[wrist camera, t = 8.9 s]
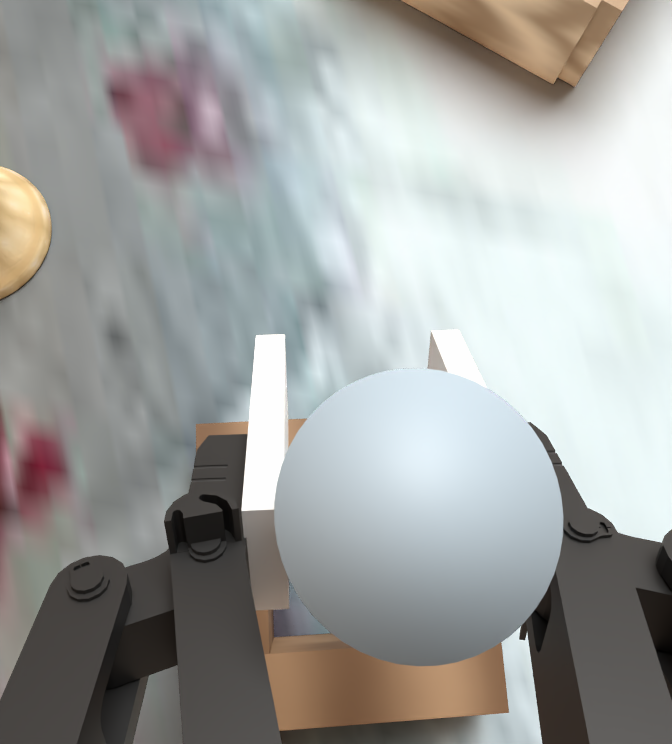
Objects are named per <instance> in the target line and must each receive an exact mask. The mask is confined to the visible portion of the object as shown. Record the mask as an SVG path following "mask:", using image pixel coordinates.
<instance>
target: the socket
mask: <svg viewBox="0 0 672 744" xmlns="http://www.w3.org/2000/svg"><path fill="white" fill-rule="evenodd" d="M306 420H307V419H289V420H288V448H289V446H290V444H291V443H292V441H293V439H294V437H295V436H296V434H297V432H298V430H299V429H300V428H301V426H302V425H303V424H304V422H305V421H306ZM248 426H249V422H229V423H209V424H196V452H197V449H198V448H199V447H200V445H201V444H202V443H203V442H204V440H205V439H206V438H207V437H208V435H231V434H248ZM256 614H257V619H258V625H259V630H260V635H261V640H262V645H263V650H264V655H265V660H266V665H267V670H268V676H269V681H270V686H271V691H272V696H273V701H274V706H275V711H276V716H277V721H278V727H279V731H284V730H297V729H309V728H322V727H334V726H347V725H360V724H372V723H385V722H397V721H410V720H423V719H435V718H448V717H461V716H473V715H486V714H498V713H509V709H508V700H507V691H506V682H505V672H504V663H503V654H502V645H501V642H500V643H499V644H498V645H496V646H495V647H493V648H491V649H489V650H487V651H485V652H483V653H481V654H479V655H477V656H475V657H471V658H468V659H465V660H462V661H459V662H456V663H450V664H444V665H439V666H410V665H401V664H395V663H391V662H388V661H384V660H380V659H377V658H374V657H372V656H369V655H367V654H365V653H362V652H360V651H358V650H356V649H354V648H353V647H351V646H349V645H348V644H346V643H344V642H342V641H341V640H340V639H338V638H337V637H336V636H335V635H333V634H332V633H330V634H316V635H302V636H287V637H274V627H273V610H256Z"/></svg>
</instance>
